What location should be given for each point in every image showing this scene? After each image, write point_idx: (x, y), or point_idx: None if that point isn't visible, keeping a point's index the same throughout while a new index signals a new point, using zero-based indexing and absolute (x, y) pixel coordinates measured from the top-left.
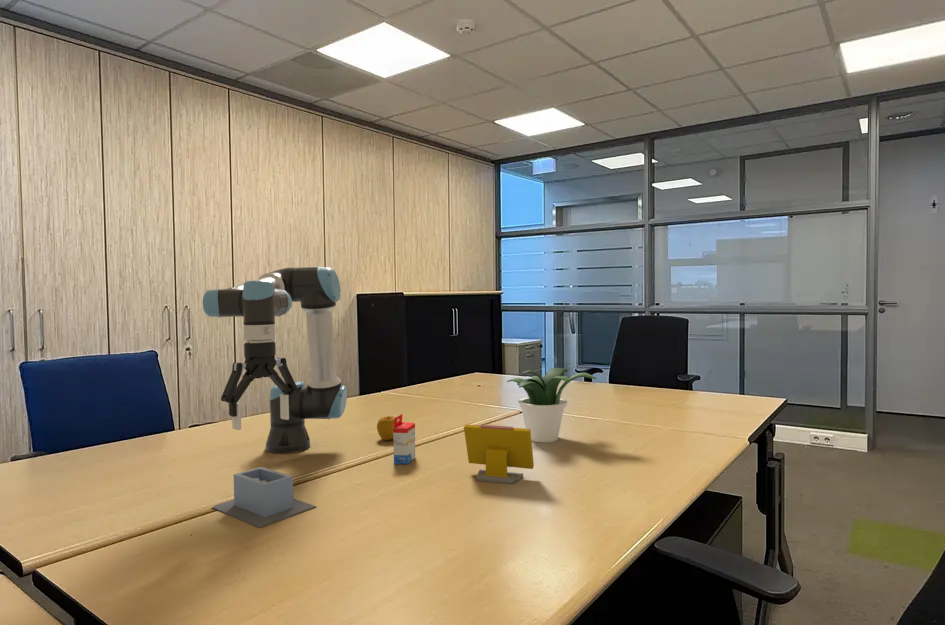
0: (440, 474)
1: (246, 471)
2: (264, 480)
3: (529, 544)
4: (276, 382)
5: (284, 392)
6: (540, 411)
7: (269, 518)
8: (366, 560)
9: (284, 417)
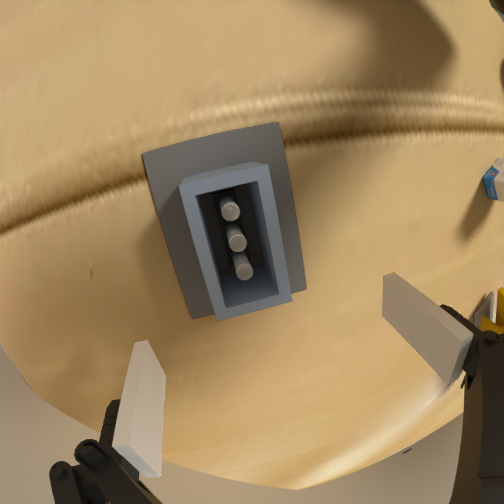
0: (477, 268)
1: (217, 180)
2: (243, 240)
3: (367, 444)
4: (468, 446)
5: (474, 357)
6: None
7: None
8: (261, 436)
9: (387, 306)
